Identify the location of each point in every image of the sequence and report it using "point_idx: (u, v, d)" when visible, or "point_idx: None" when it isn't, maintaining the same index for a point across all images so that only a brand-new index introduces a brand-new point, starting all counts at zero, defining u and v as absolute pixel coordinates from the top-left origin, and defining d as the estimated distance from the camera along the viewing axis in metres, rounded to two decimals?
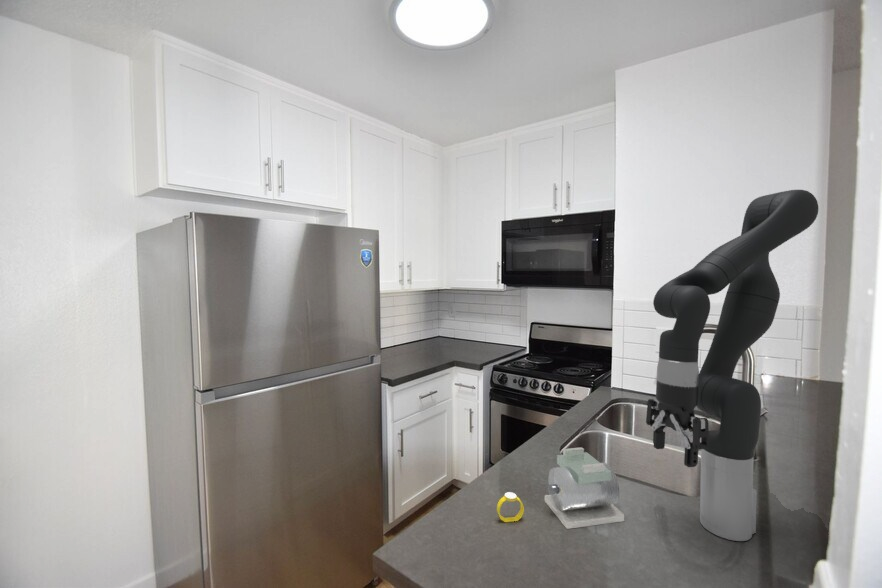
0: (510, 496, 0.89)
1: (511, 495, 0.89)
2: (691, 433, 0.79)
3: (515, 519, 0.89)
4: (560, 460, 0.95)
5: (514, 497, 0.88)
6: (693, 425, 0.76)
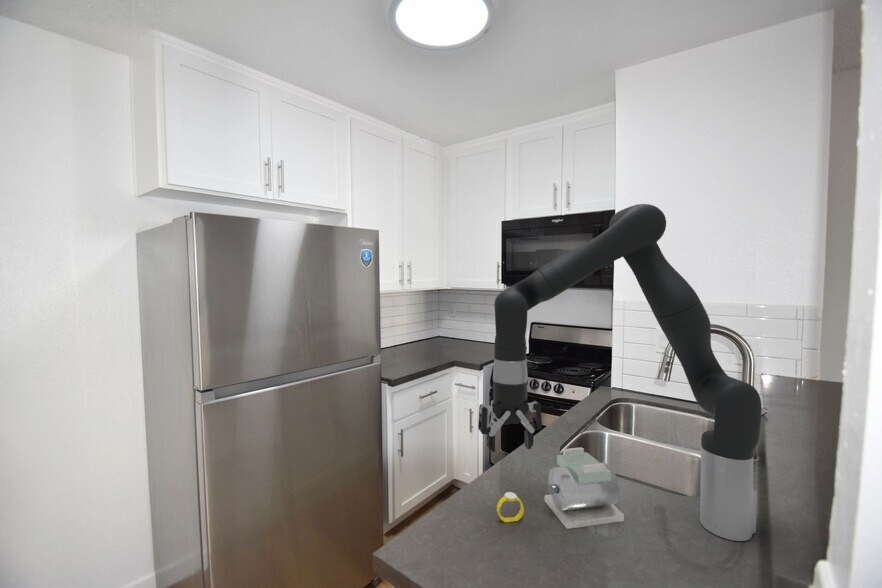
0: (510, 496, 0.89)
1: (511, 495, 0.89)
2: None
3: (515, 519, 0.89)
4: (560, 460, 0.95)
5: (514, 497, 0.88)
6: (536, 410, 0.88)
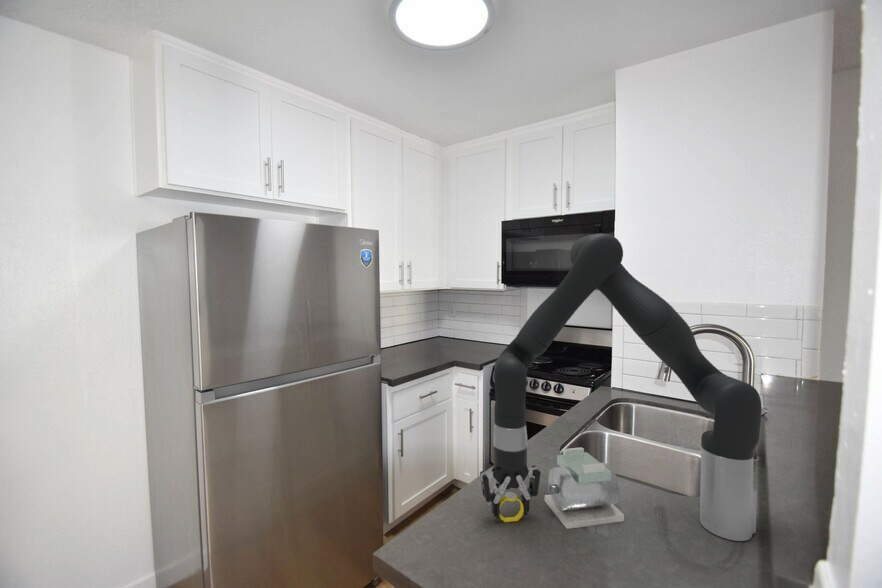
0: (510, 496, 0.89)
1: (511, 495, 0.89)
2: None
3: (515, 519, 0.89)
4: (560, 460, 0.95)
5: (514, 497, 0.88)
6: (535, 476, 0.89)
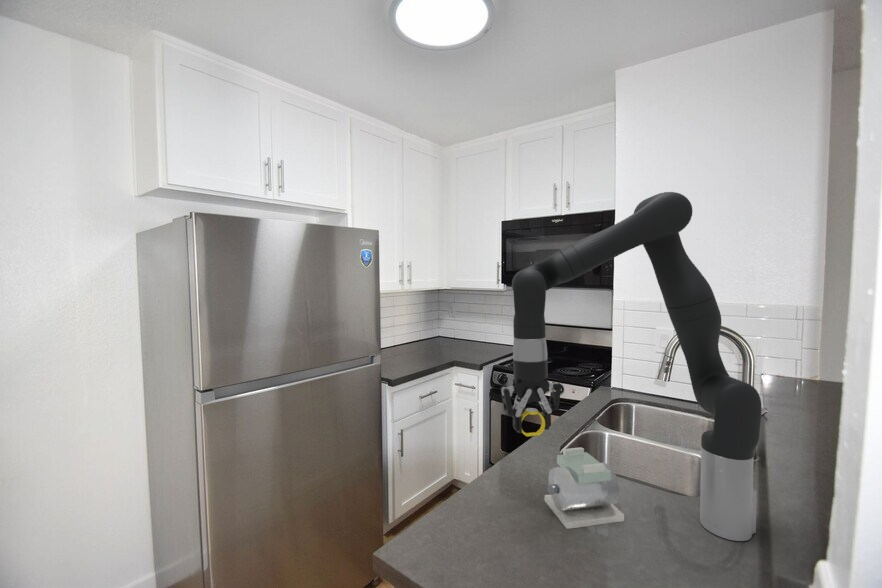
0: (531, 410, 0.89)
1: (532, 410, 0.89)
2: None
3: (537, 433, 0.89)
4: (560, 460, 0.95)
5: (535, 411, 0.88)
6: (556, 390, 0.89)
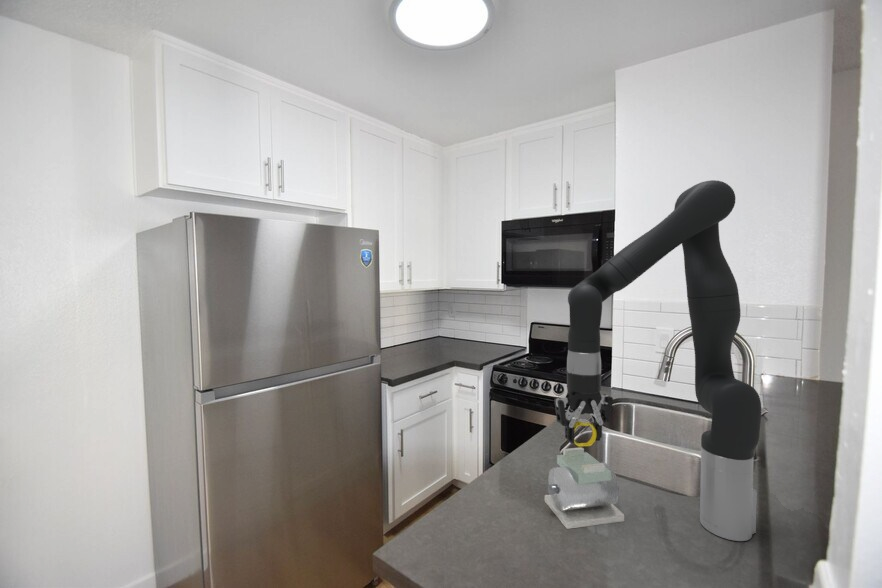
0: (584, 421, 0.91)
1: (584, 421, 0.91)
2: None
3: (588, 444, 0.92)
4: (560, 460, 0.95)
5: (588, 422, 0.91)
6: (608, 403, 0.91)
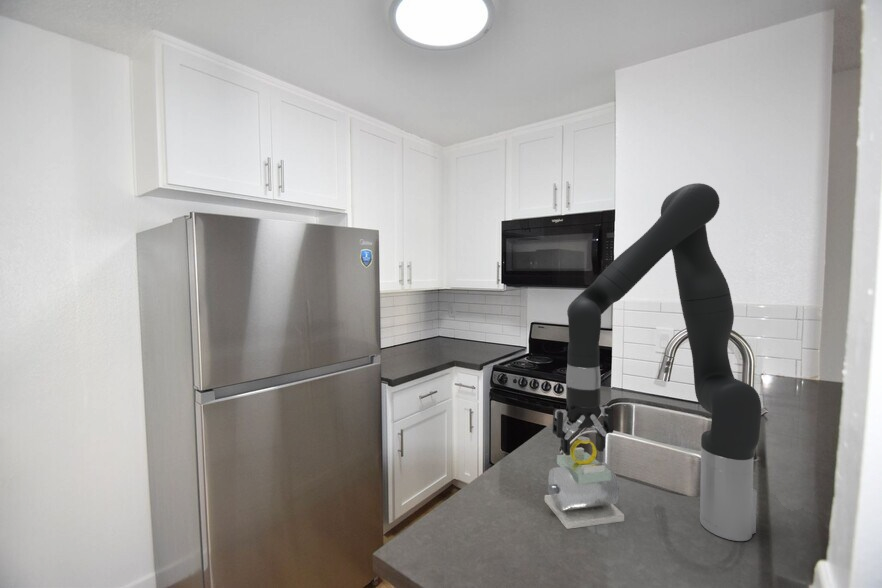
0: (584, 439, 0.91)
1: (585, 439, 0.92)
2: None
3: (588, 462, 0.92)
4: (560, 460, 0.95)
5: (588, 440, 0.91)
6: (608, 414, 0.92)
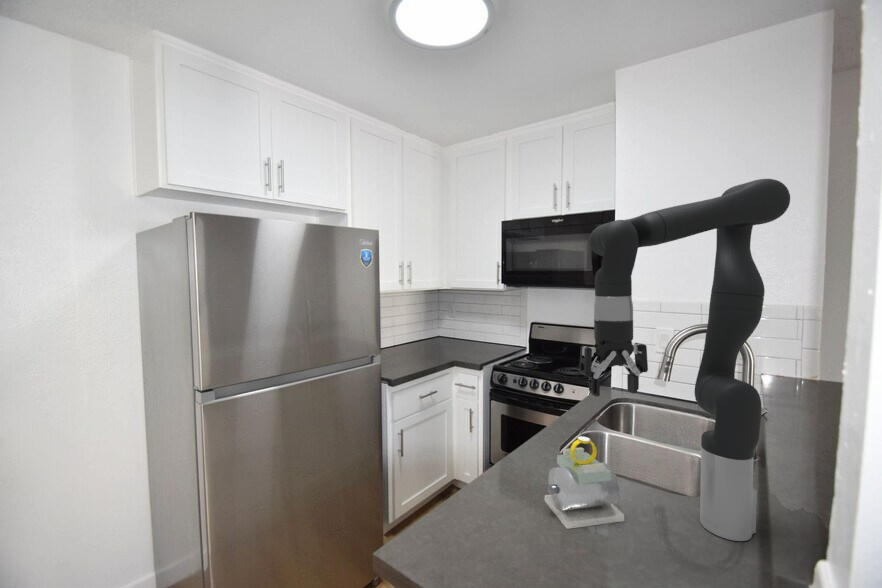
0: (584, 439, 0.91)
1: (585, 439, 0.92)
2: None
3: (588, 462, 0.92)
4: (560, 460, 0.95)
5: (588, 440, 0.91)
6: (642, 351, 0.82)
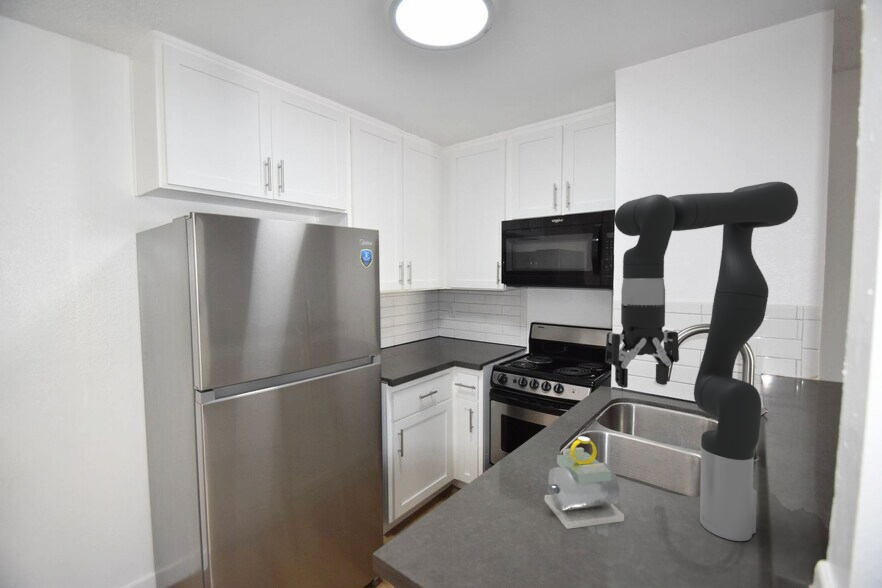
0: (584, 439, 0.91)
1: (585, 439, 0.92)
2: None
3: (588, 462, 0.92)
4: (560, 460, 0.95)
5: (588, 440, 0.91)
6: (673, 339, 0.76)
